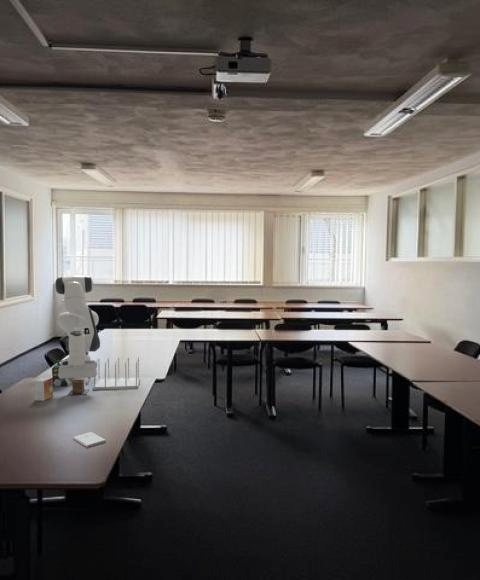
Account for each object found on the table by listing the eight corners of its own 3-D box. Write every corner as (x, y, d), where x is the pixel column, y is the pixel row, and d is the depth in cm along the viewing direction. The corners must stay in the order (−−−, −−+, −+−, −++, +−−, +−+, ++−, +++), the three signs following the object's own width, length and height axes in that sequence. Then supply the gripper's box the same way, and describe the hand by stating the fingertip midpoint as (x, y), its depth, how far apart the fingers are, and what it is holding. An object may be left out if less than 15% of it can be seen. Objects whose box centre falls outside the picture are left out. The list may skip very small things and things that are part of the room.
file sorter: (92, 390, 265) (92, 363, 263) (97, 382, 282) (96, 356, 281) (138, 388, 268) (137, 361, 267) (140, 380, 285) (139, 355, 284)
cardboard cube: (74, 390, 262) (74, 379, 261) (84, 390, 262) (83, 378, 262) (72, 393, 257) (72, 381, 256) (82, 392, 257) (82, 381, 257)
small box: (44, 401, 245) (43, 381, 244) (34, 400, 246) (34, 380, 245) (53, 396, 253) (52, 377, 252) (44, 396, 254) (43, 376, 253)
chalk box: (72, 382, 282) (71, 357, 281) (68, 386, 273) (68, 361, 272) (56, 382, 281) (55, 358, 280) (52, 386, 272) (51, 361, 270)
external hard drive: (87, 449, 186) (73, 440, 195) (106, 443, 192) (91, 434, 201) (86, 445, 186) (73, 436, 195) (105, 439, 192) (91, 431, 200)
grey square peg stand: (71, 390, 264) (70, 379, 263) (89, 389, 265) (89, 378, 265) (67, 395, 254) (66, 383, 254) (86, 395, 255) (85, 383, 255)
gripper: (98, 359, 263) (98, 383, 264) (60, 360, 260) (60, 384, 261) (96, 361, 257) (96, 386, 258) (57, 362, 254) (57, 387, 255)
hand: (78, 385), depth 259 cm, fingers open, 8 cm apart
